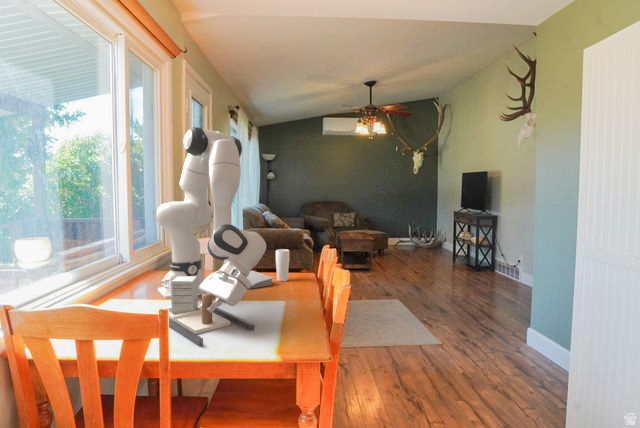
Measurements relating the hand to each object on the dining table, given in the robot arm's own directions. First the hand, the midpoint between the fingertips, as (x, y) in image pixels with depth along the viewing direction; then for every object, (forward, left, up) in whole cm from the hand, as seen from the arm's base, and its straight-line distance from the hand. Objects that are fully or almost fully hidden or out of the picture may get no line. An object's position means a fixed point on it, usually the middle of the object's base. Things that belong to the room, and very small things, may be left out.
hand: (205, 309), depth 118 cm
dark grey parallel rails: (0, +1, -6) cm, 6 cm away
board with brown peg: (-9, +1, -6) cm, 11 cm away
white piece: (-33, +58, -6) cm, 67 cm away
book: (-39, +44, -7) cm, 59 cm away
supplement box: (-16, +1, -6) cm, 17 cm away
